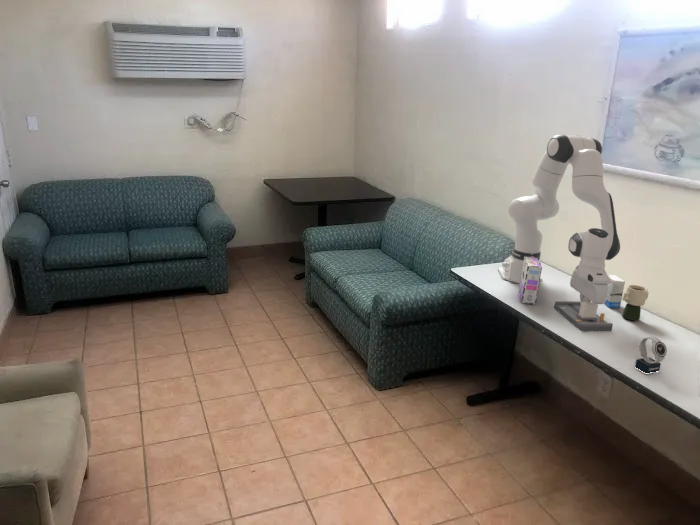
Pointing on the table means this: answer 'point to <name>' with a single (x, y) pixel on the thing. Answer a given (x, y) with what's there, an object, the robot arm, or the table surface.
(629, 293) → the character mug
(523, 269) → the candy box
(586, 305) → the fader tab
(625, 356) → the table surface
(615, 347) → the table surface
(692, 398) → the table surface
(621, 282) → the ink box
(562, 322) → the table surface
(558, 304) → the fader console
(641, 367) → the watch
